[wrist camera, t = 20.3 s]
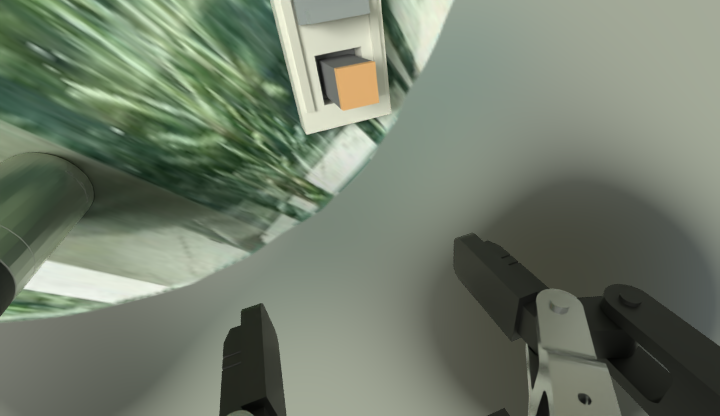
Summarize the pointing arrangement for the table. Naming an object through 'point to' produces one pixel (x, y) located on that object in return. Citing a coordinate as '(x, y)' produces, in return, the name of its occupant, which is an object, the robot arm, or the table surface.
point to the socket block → (324, 42)
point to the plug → (349, 81)
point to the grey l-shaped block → (328, 10)
